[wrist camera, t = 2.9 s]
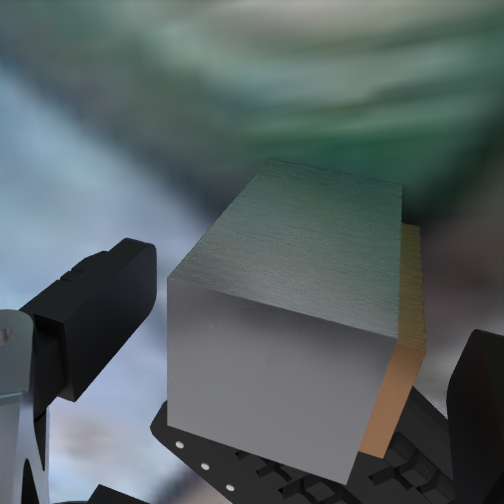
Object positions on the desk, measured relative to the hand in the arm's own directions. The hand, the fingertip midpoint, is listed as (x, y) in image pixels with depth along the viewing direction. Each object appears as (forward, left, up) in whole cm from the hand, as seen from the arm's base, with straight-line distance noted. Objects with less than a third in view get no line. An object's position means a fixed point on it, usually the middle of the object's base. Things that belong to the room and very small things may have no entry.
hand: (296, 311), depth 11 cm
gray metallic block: (0, 0, -4) cm, 4 cm away
